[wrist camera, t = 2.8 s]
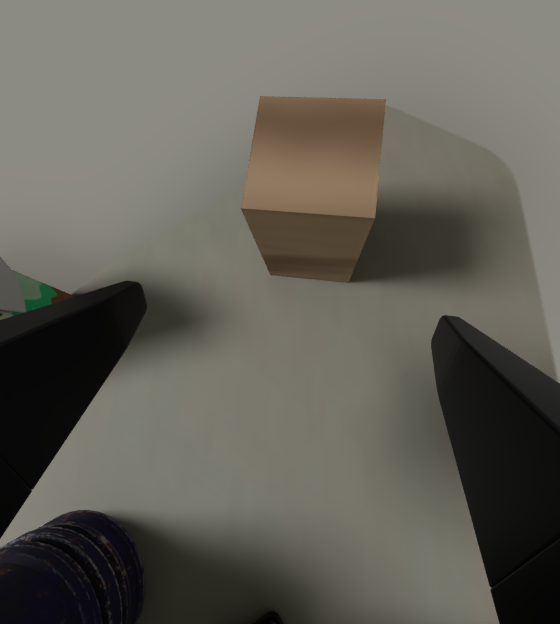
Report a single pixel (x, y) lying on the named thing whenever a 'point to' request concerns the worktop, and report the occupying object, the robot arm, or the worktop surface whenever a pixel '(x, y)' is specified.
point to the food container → (24, 293)
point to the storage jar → (72, 573)
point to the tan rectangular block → (313, 183)
